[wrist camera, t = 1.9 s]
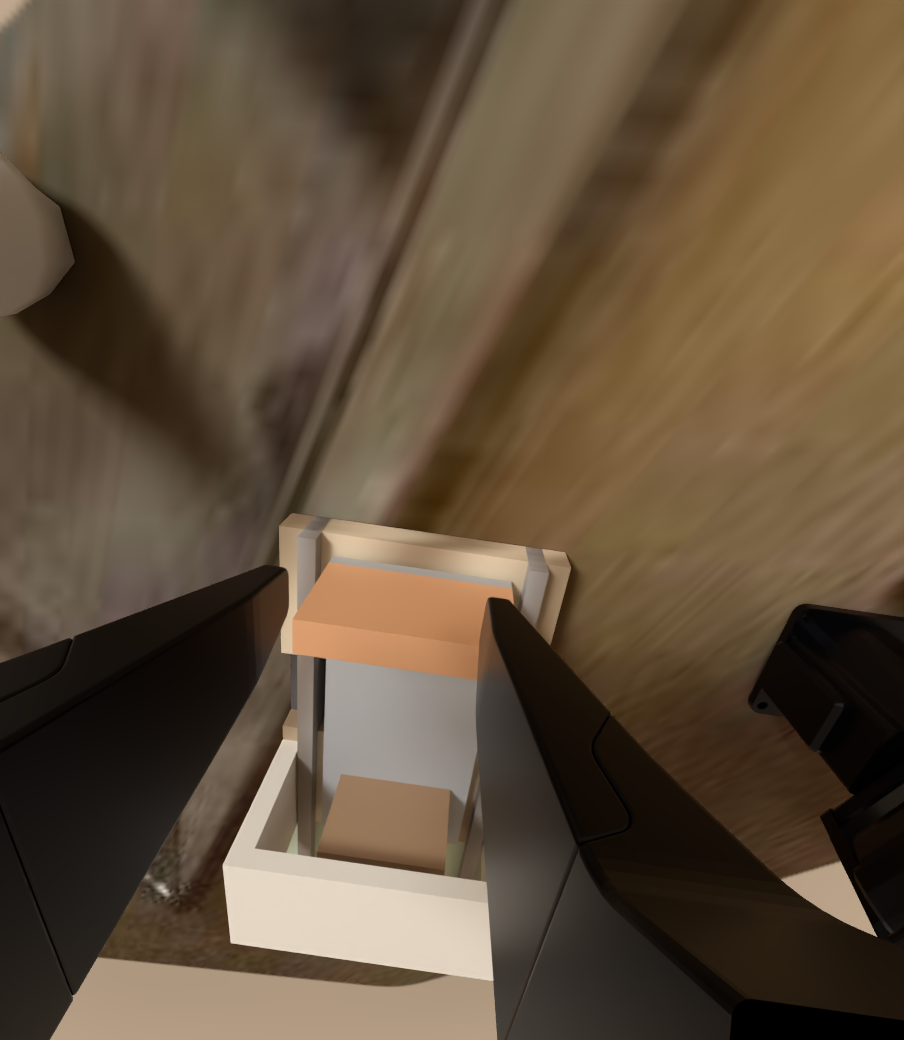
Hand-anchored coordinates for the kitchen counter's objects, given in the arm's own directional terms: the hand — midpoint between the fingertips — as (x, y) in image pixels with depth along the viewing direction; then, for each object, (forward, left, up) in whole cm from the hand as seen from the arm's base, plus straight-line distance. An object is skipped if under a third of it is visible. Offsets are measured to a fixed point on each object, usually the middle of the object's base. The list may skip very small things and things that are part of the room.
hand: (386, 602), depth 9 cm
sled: (0, +14, -10) cm, 17 cm away
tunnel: (0, +20, -10) cm, 23 cm away
